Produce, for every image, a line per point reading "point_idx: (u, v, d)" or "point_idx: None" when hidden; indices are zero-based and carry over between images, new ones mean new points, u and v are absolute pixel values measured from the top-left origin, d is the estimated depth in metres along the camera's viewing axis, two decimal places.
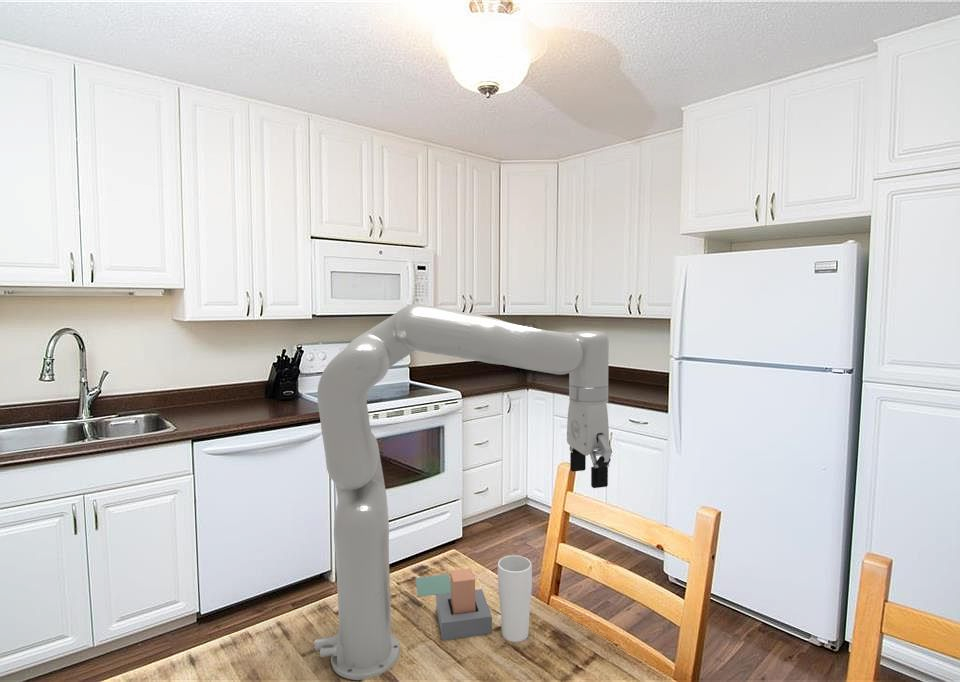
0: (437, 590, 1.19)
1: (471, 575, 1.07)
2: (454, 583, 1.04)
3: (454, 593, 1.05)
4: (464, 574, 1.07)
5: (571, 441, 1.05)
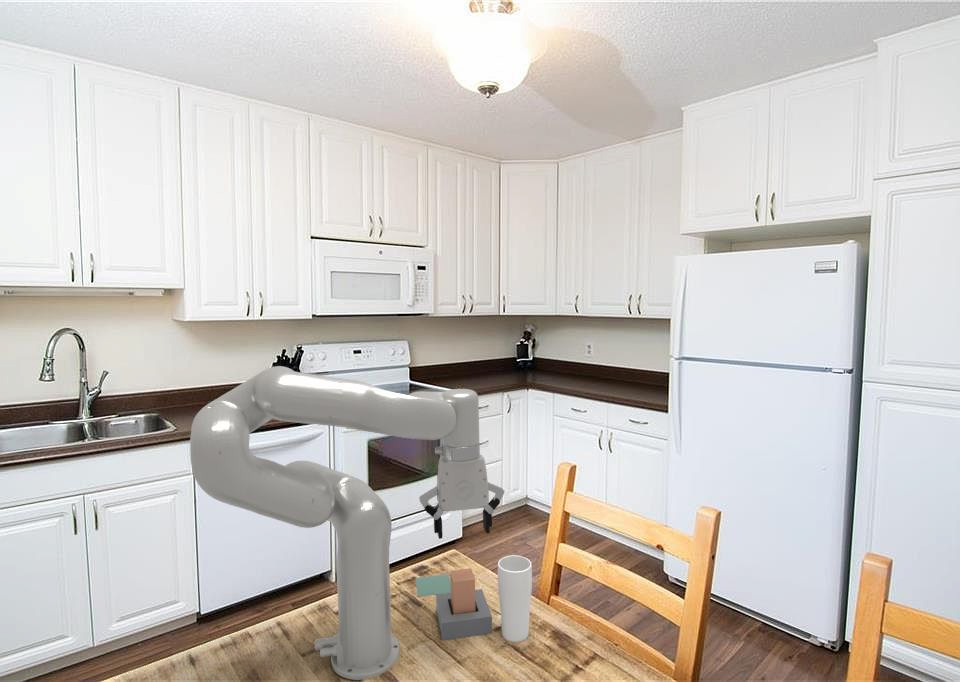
0: (437, 590, 1.19)
1: (471, 575, 1.07)
2: (454, 583, 1.04)
3: (454, 593, 1.05)
4: (464, 574, 1.07)
5: (455, 504, 1.02)
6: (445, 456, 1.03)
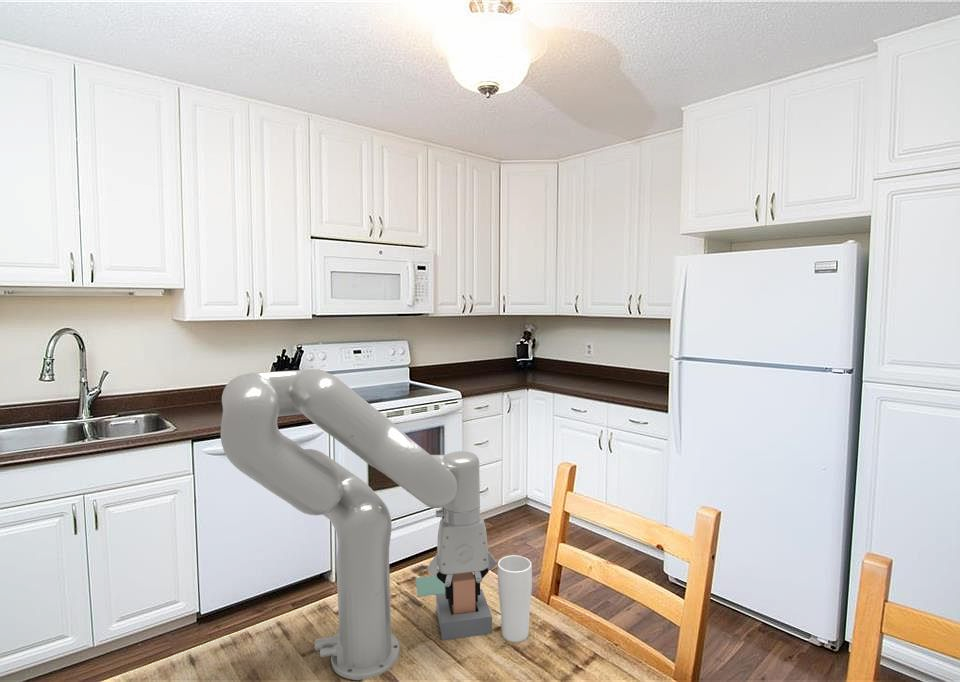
0: (437, 590, 1.19)
1: (471, 575, 1.07)
2: (454, 583, 1.04)
3: (454, 593, 1.05)
4: (464, 574, 1.07)
5: (455, 568, 1.03)
6: (446, 520, 1.04)
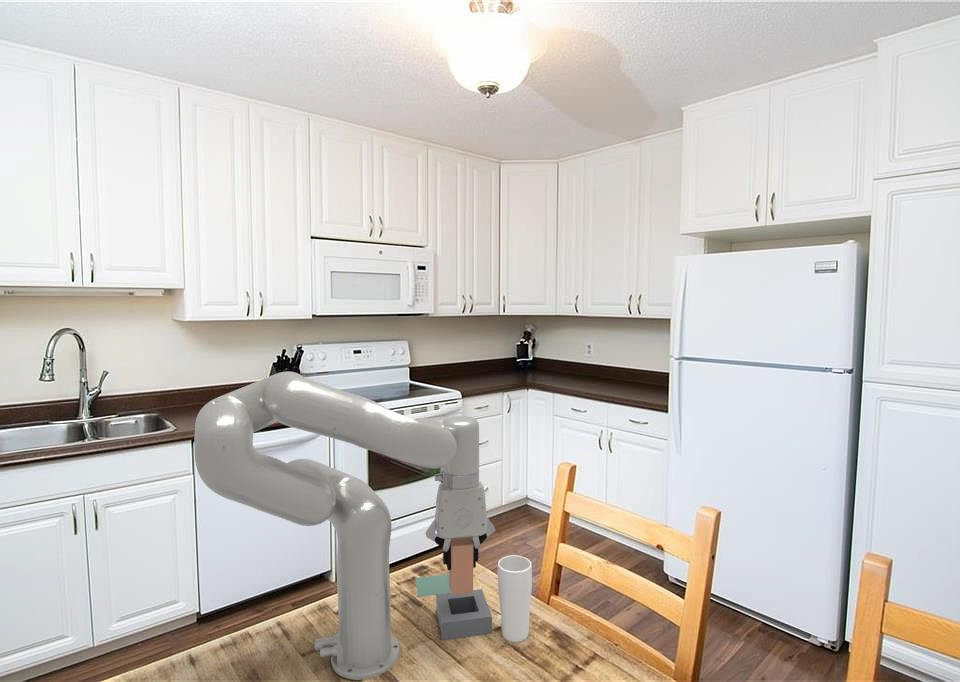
0: (437, 590, 1.19)
1: (469, 541, 1.06)
2: (452, 548, 1.04)
3: (452, 558, 1.04)
4: (463, 540, 1.06)
5: (453, 532, 1.03)
6: (444, 483, 1.03)
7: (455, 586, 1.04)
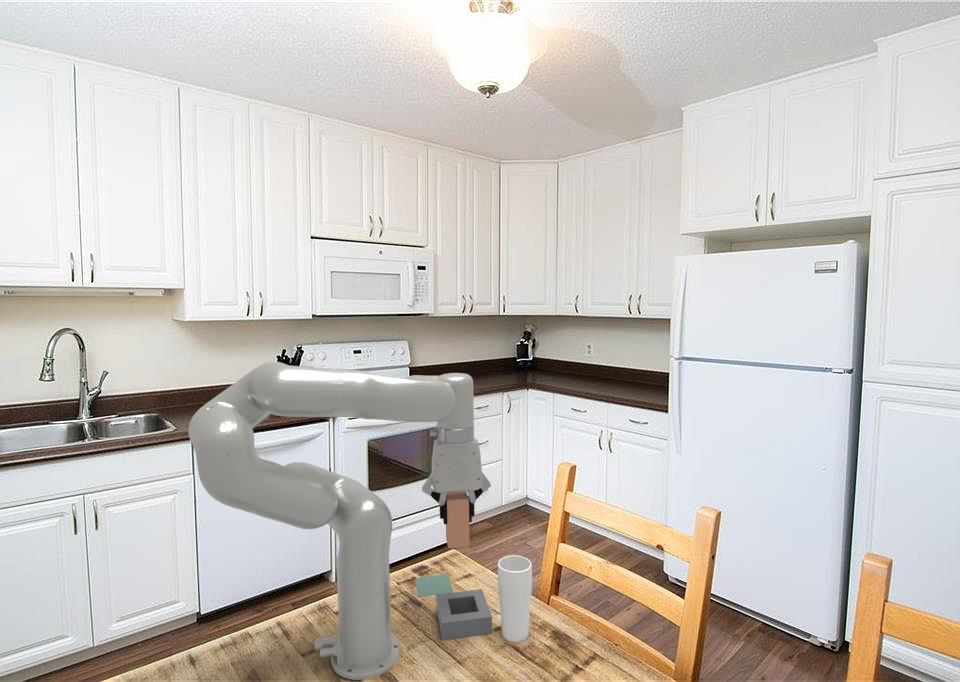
0: (437, 590, 1.19)
1: (465, 496, 1.07)
2: (448, 502, 1.05)
3: (448, 512, 1.05)
4: (459, 495, 1.08)
5: (448, 486, 1.04)
6: (439, 438, 1.04)
7: (451, 539, 1.06)
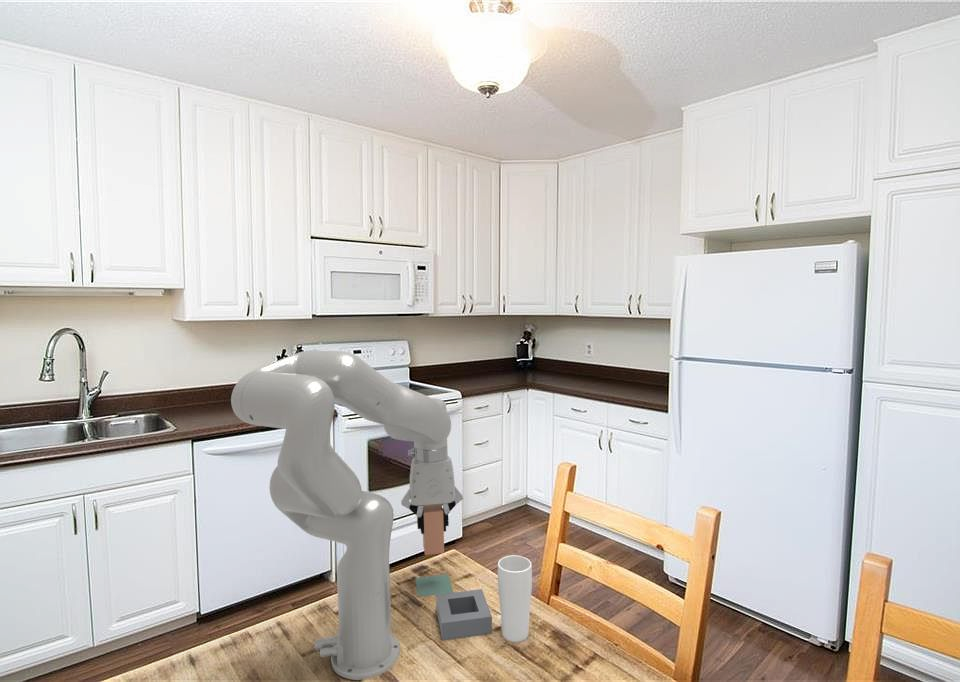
0: (437, 590, 1.19)
1: (440, 508, 1.20)
2: (424, 514, 1.18)
3: (424, 523, 1.18)
4: (434, 507, 1.20)
5: (425, 500, 1.17)
6: (416, 458, 1.17)
7: (428, 547, 1.18)
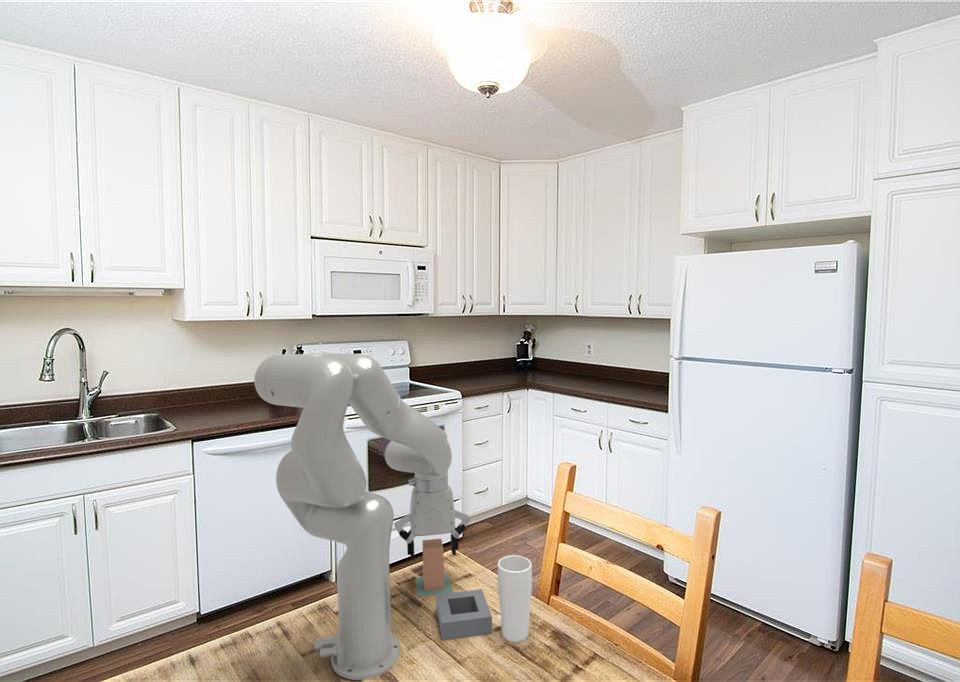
0: (437, 590, 1.19)
1: (440, 544, 1.20)
2: (424, 550, 1.18)
3: (424, 559, 1.18)
4: (434, 543, 1.21)
5: (425, 530, 1.17)
6: (417, 488, 1.17)
7: (427, 583, 1.19)
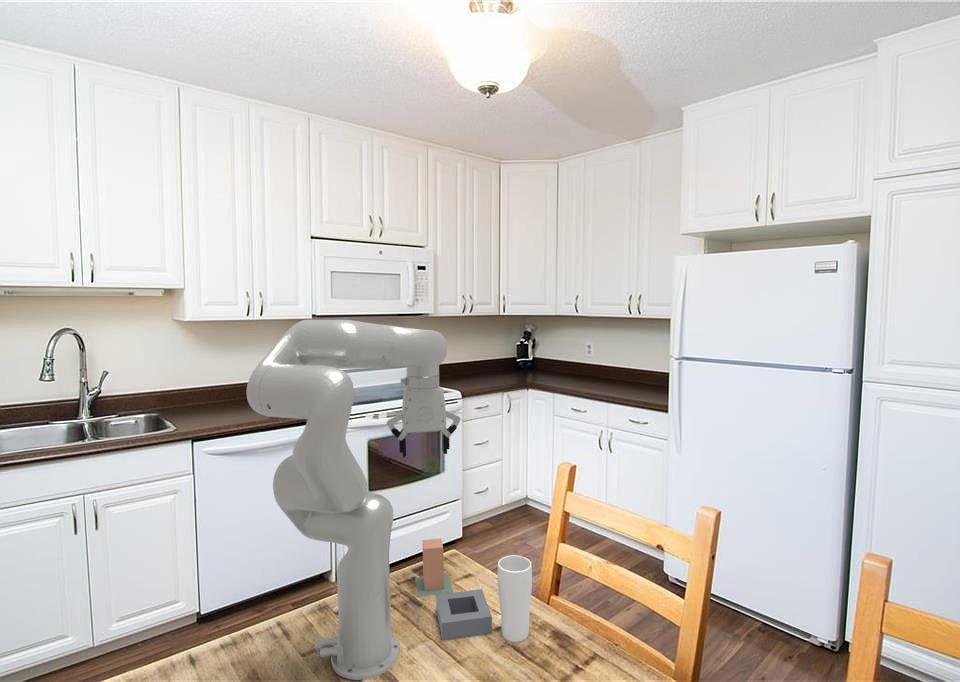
0: (437, 590, 1.19)
1: (440, 544, 1.20)
2: (424, 550, 1.18)
3: (424, 559, 1.18)
4: (434, 543, 1.21)
5: (416, 427, 1.20)
6: (409, 385, 1.20)
7: (427, 583, 1.19)
